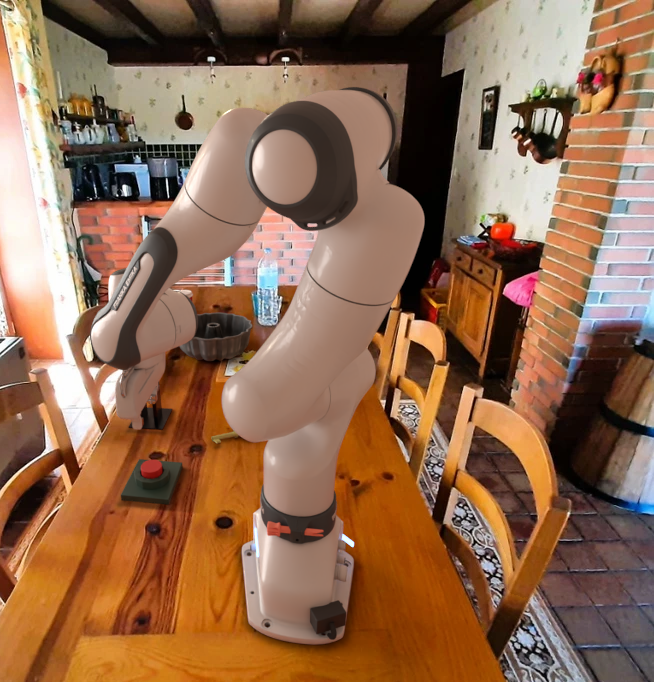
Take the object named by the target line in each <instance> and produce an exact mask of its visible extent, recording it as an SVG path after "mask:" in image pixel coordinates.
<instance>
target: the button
mask: <svg viewBox="0 0 654 682" xmlns="http://www.w3.org/2000/svg"><path fill="white" fill-rule="evenodd" d="M147 460H148V461H145V462H144V463H143V464H142V465H141V473H142V476H143V477H144V478H147V479H153V478H157V477H159V476H160V475H161V474H162V472H163V471H162V464H161V462H160V461H161V460H159V459H147Z"/></svg>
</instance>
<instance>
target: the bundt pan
mask: <svg viewBox="0 0 654 682" xmlns="http://www.w3.org/2000/svg"><path fill="white" fill-rule="evenodd" d="M197 316H198V327H197V331H196V334H195V336H194V338H193V339H192V340H191V341H188V342H187V343H185V344H183V345H181V346H178V347H179V348H180V350H181V351H182V352H183V353H184V354H186V356H188V357H190V358H195V360H197V361H202V360H204V361H206V362H213V361H216V360H217V361H219V362H222V361H223V360H224V359H226V360H231V359H233V358H235V357H236V356H240V355H242V354H243V353H244V352H245V350H246V349H247V347H248V346H249V343H250V337H251V331H252V329H253V327H254V326H253V323H252V320H250V319H248V318H247V317H246V316H243V315H239V314H235V313H227V312H211V313H210V312H204V313H201V314H197Z"/></svg>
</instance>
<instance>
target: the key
mask: <svg viewBox="0 0 654 682" xmlns="http://www.w3.org/2000/svg"><path fill="white" fill-rule="evenodd" d="M239 437H240V436H239V435H238V434H237V433H236V432H235V431H234V430H233V431H230V432H227V433H222V434H217V435H213V436H211V441H212V442H214V443H215V444H216V445H218V444H221V443H222V441H221V440H225V439H230V438H236V439H237V438H239Z"/></svg>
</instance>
